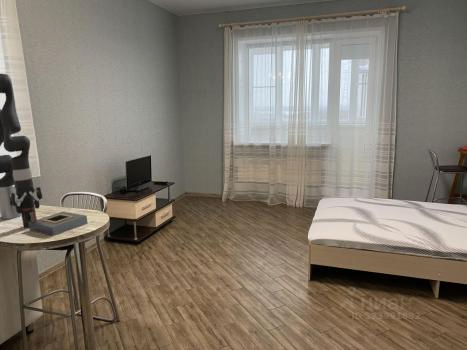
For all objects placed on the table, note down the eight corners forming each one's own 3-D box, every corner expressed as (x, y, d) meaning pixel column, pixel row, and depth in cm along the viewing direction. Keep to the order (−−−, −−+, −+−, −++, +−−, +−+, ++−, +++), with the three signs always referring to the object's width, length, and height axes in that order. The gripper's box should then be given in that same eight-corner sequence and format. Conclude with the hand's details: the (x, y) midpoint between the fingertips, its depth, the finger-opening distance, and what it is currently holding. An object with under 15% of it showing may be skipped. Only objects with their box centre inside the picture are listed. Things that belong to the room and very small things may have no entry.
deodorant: (31, 228, 165) (26, 198, 162) (20, 227, 166) (15, 198, 163) (40, 224, 171) (35, 194, 168) (30, 223, 172) (25, 194, 169)
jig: (29, 230, 162) (28, 221, 161) (64, 218, 178) (63, 210, 177) (53, 235, 154) (51, 226, 153) (87, 223, 169) (86, 214, 168)
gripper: (32, 175, 172) (38, 206, 175) (2, 180, 160) (8, 214, 163) (42, 175, 168) (47, 207, 171) (11, 181, 156) (17, 216, 159)
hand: (28, 210), depth 167 cm, fingers open, 8 cm apart
